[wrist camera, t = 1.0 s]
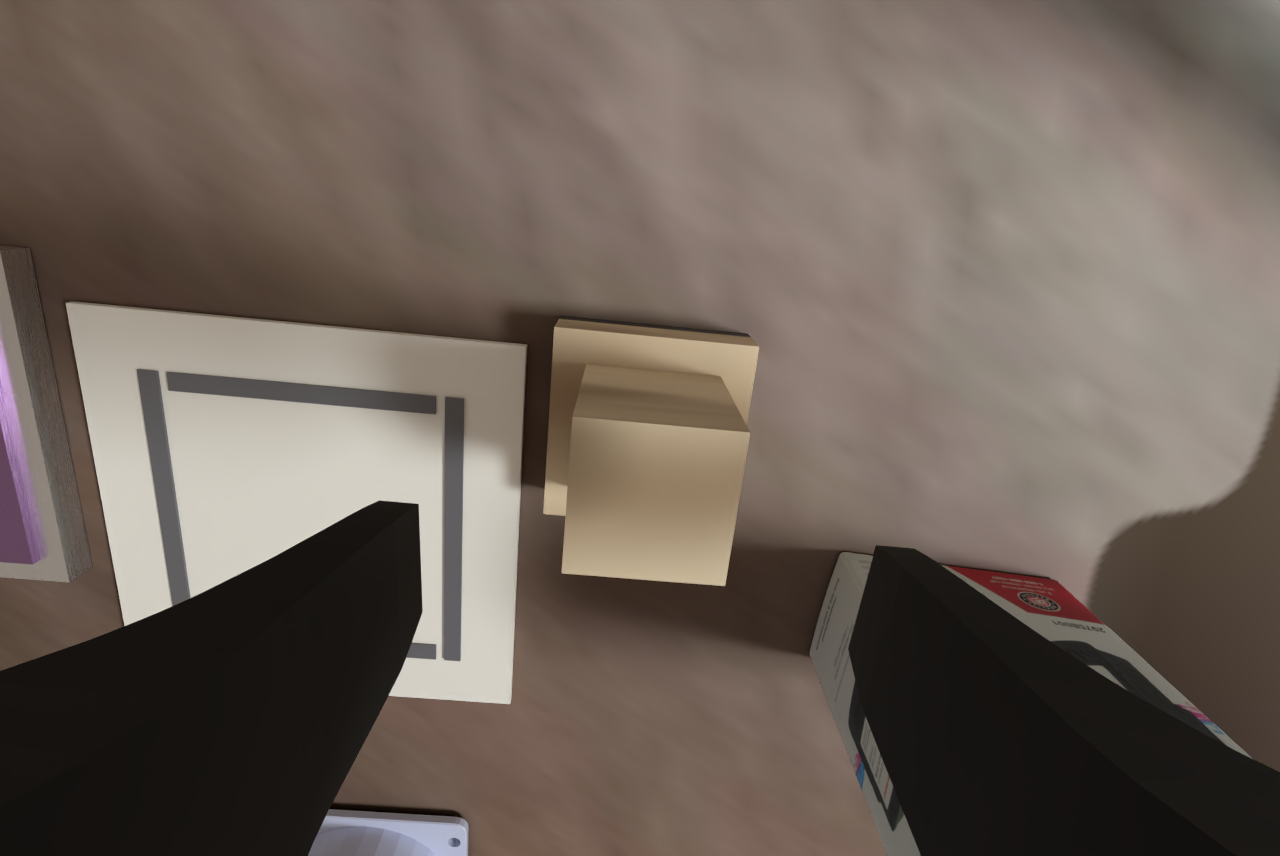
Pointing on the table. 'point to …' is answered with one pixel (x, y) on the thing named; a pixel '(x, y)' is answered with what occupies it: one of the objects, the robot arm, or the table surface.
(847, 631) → the ink box
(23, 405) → the ink pad
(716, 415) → the wooden stamp
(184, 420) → the paper sheet
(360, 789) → the table surface
